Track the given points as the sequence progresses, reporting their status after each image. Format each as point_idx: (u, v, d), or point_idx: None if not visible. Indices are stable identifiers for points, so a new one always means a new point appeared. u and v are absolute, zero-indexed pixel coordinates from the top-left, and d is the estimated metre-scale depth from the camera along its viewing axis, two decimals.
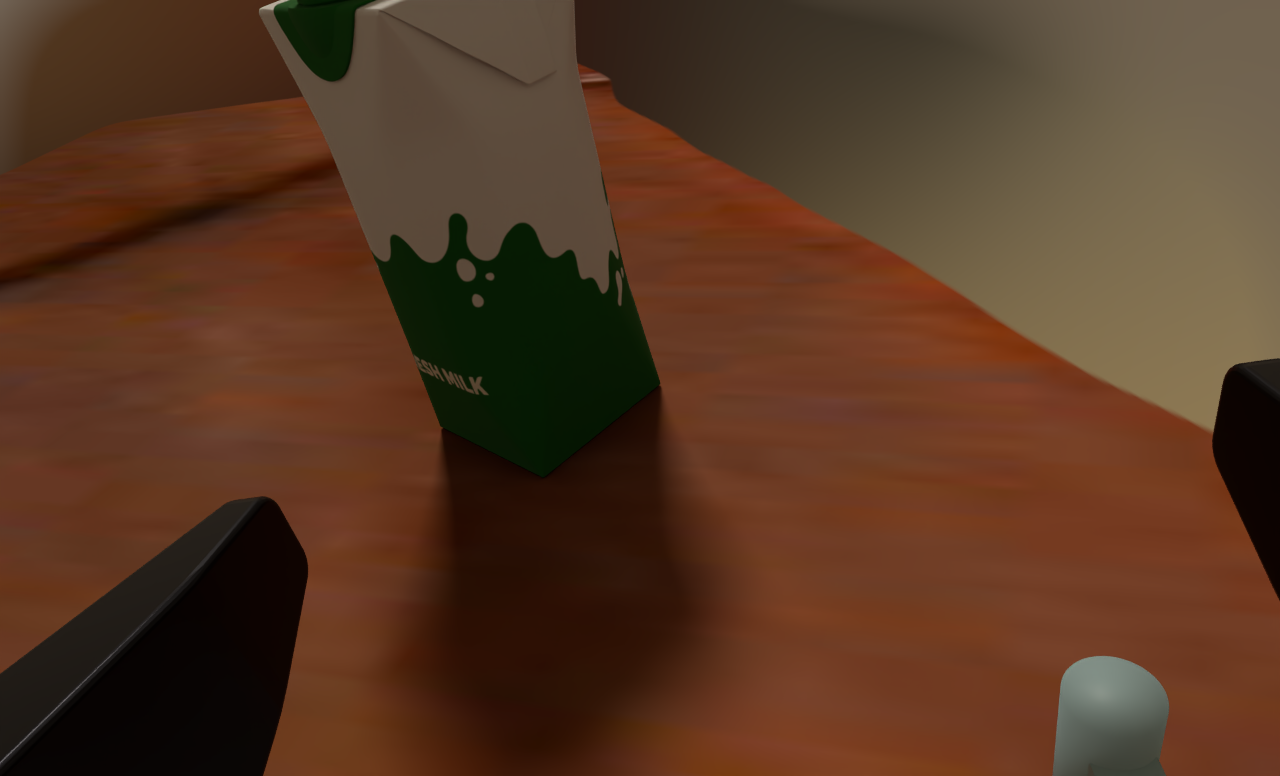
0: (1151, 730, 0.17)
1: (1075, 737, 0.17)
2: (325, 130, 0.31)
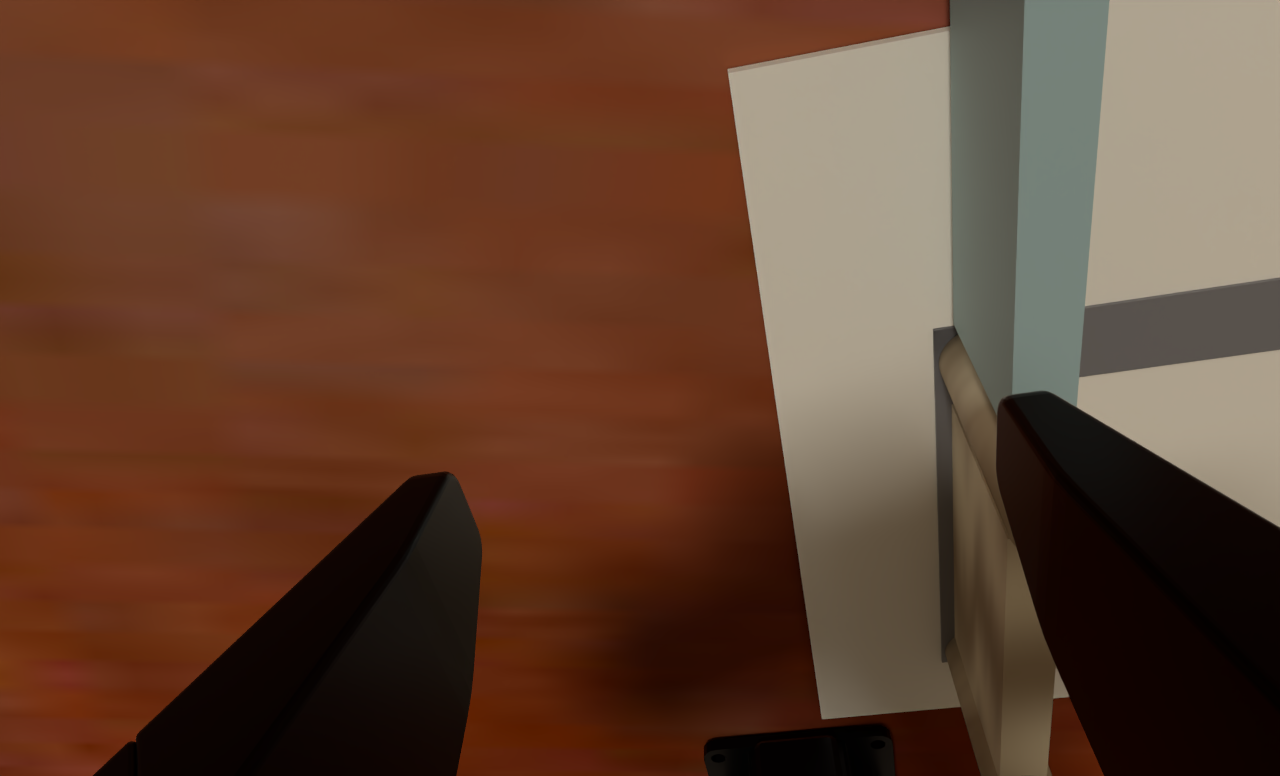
0: None
1: None
2: None
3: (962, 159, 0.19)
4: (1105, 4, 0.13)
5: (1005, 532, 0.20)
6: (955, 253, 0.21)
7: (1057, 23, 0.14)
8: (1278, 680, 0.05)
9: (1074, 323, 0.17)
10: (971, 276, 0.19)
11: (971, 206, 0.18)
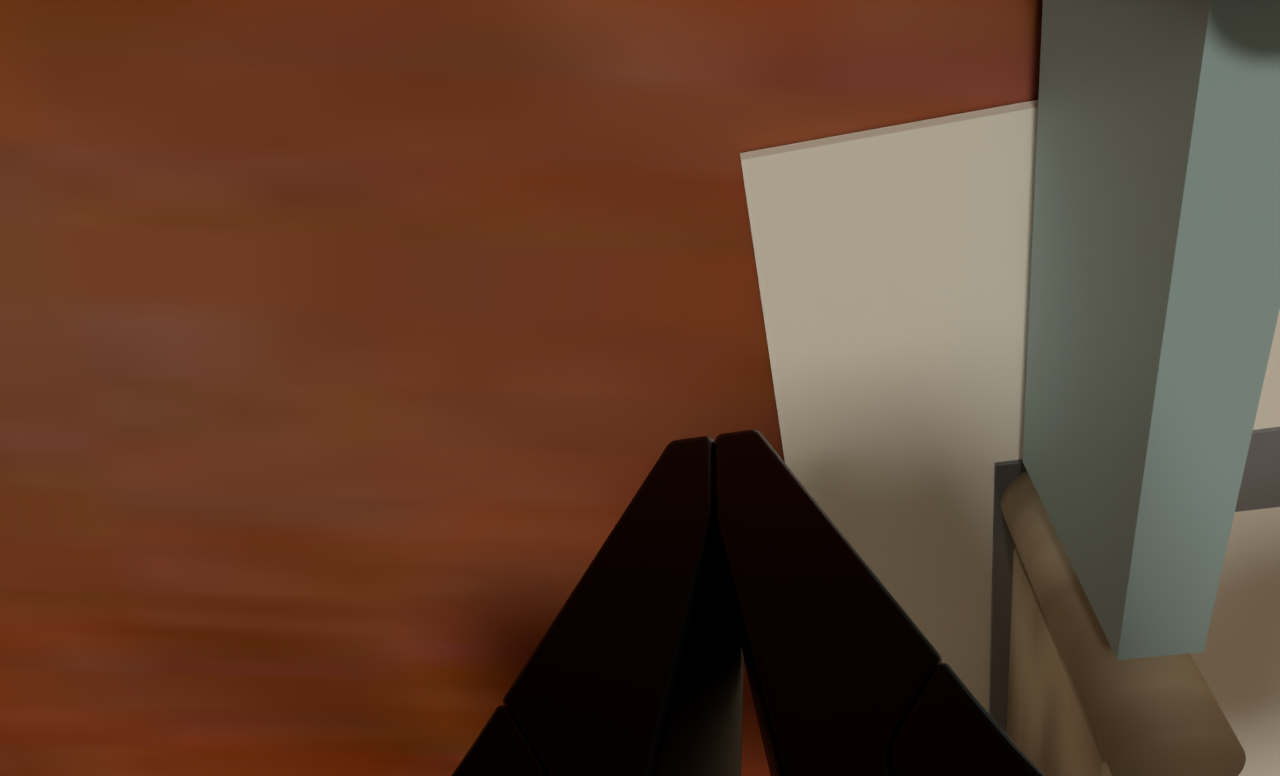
0: None
1: None
2: None
3: (1050, 277, 0.14)
4: None
5: (1099, 751, 0.15)
6: (1030, 382, 0.16)
7: (1241, 141, 0.09)
8: (785, 724, 0.05)
9: (1219, 524, 0.12)
10: (1057, 423, 0.15)
11: (1063, 340, 0.14)
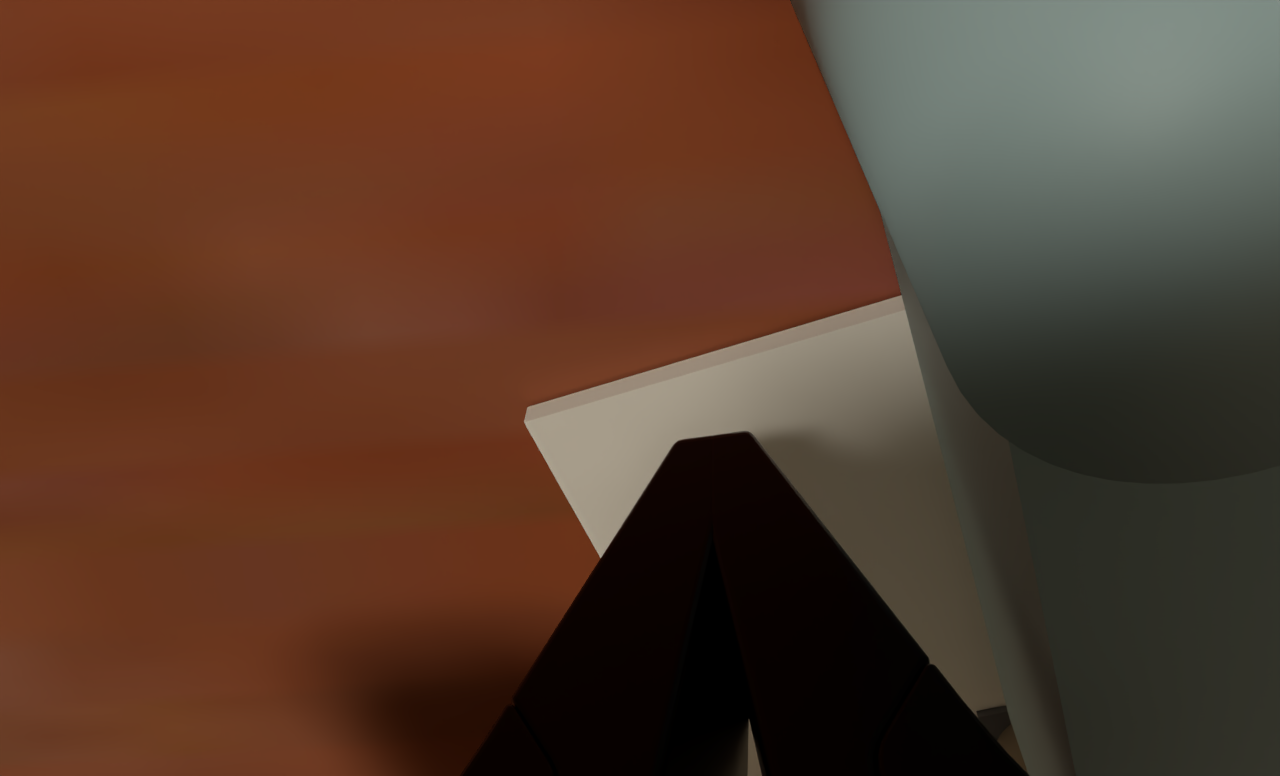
0: None
1: None
2: None
3: (971, 544, 0.10)
4: (1273, 519, 0.05)
5: None
6: (991, 639, 0.12)
7: (1134, 569, 0.05)
8: (773, 726, 0.05)
9: None
10: (1022, 730, 0.10)
11: (1000, 639, 0.10)
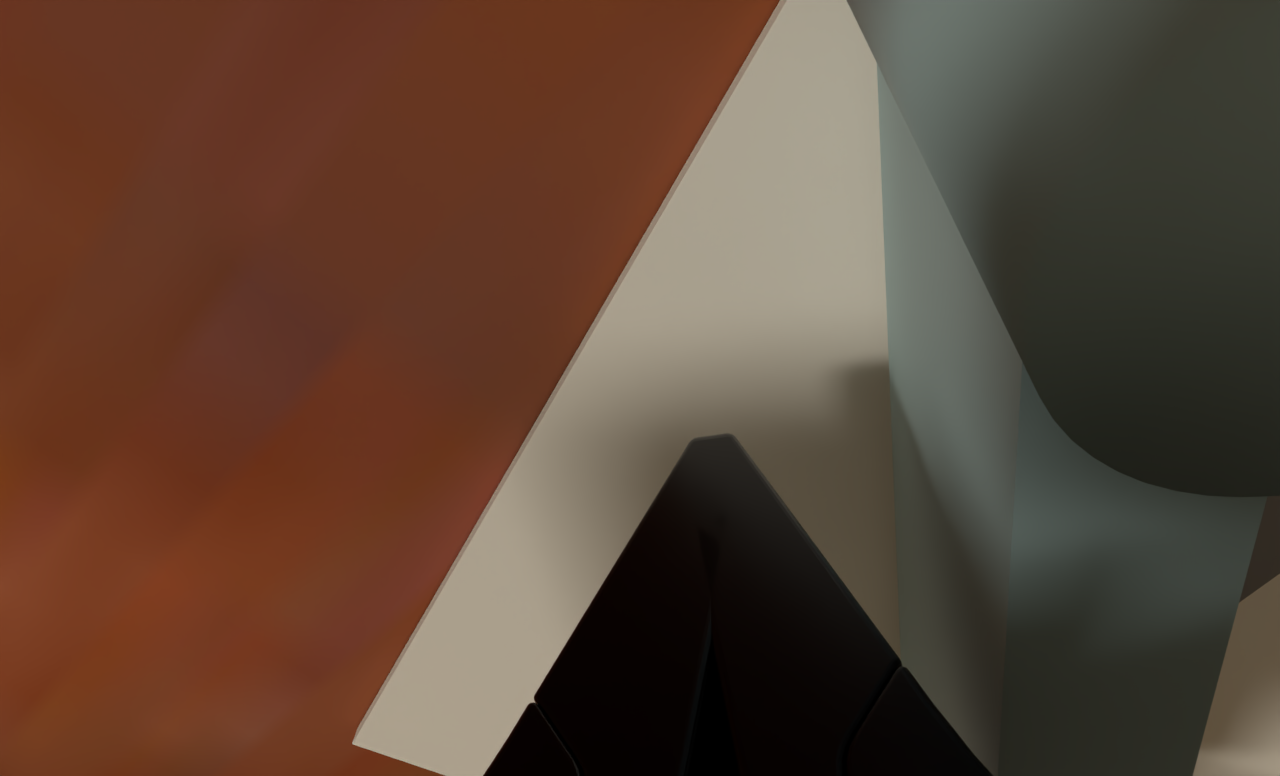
0: None
1: None
2: None
3: (907, 550, 0.10)
4: (1239, 555, 0.05)
5: None
6: (903, 647, 0.12)
7: (1101, 584, 0.05)
8: (744, 728, 0.05)
9: None
10: None
11: (920, 646, 0.10)
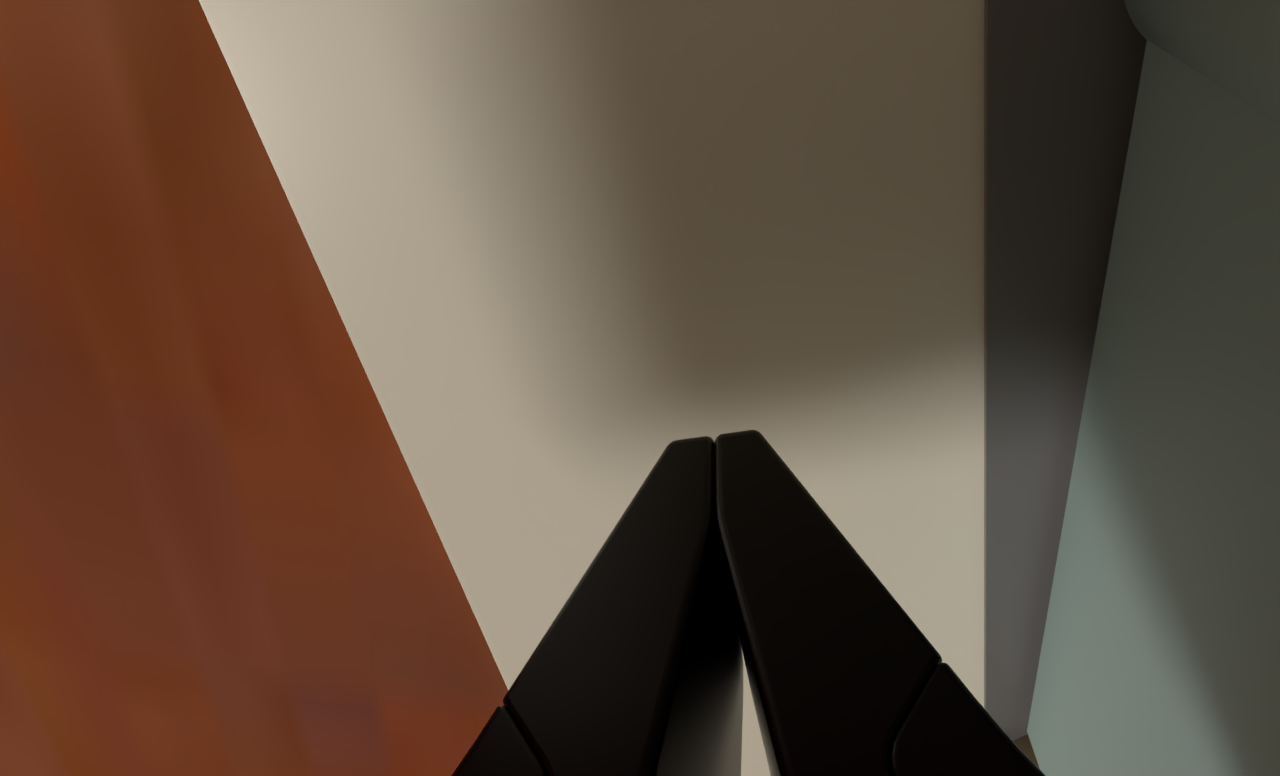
0: None
1: None
2: None
3: (1095, 554, 0.10)
4: None
5: None
6: (1048, 652, 0.12)
7: None
8: (785, 724, 0.05)
9: None
10: (1088, 740, 0.11)
11: (1108, 648, 0.10)
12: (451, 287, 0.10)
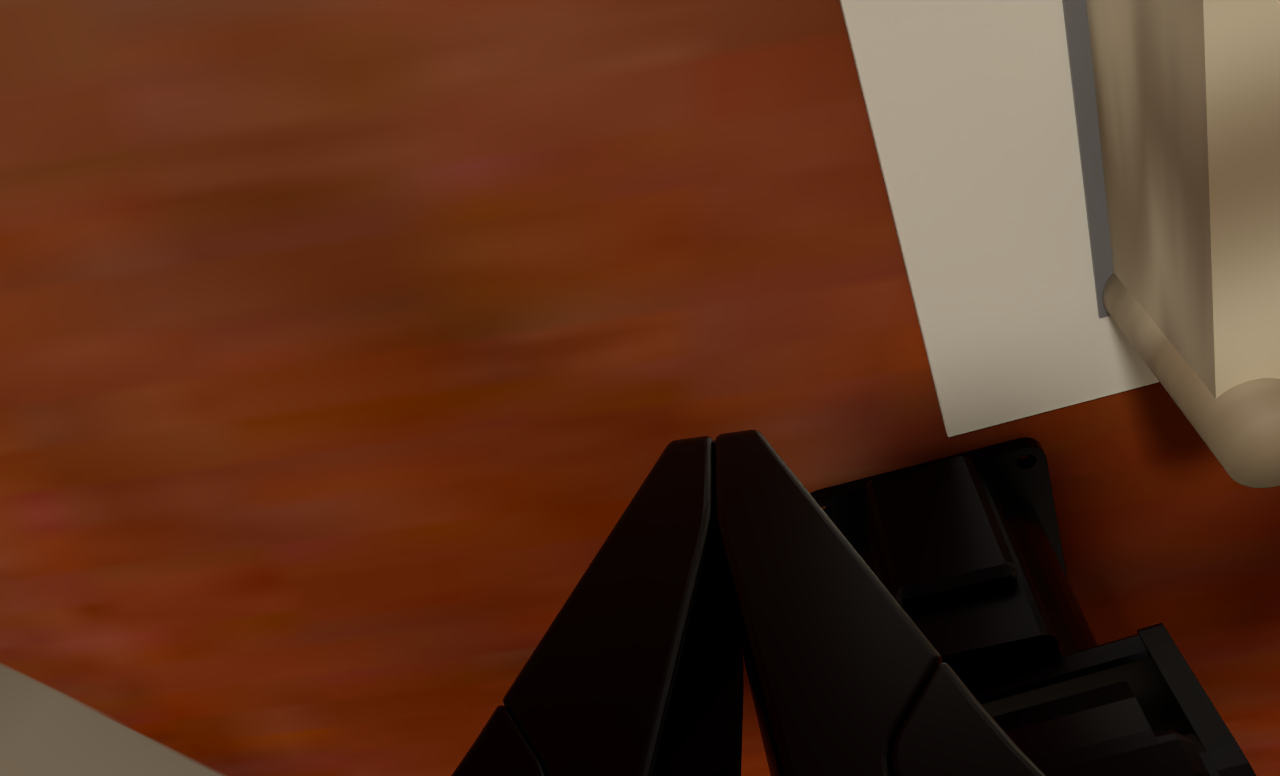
0: None
1: None
2: None
3: None
4: None
5: None
6: None
7: None
8: (785, 725, 0.05)
9: None
10: None
11: None
12: None
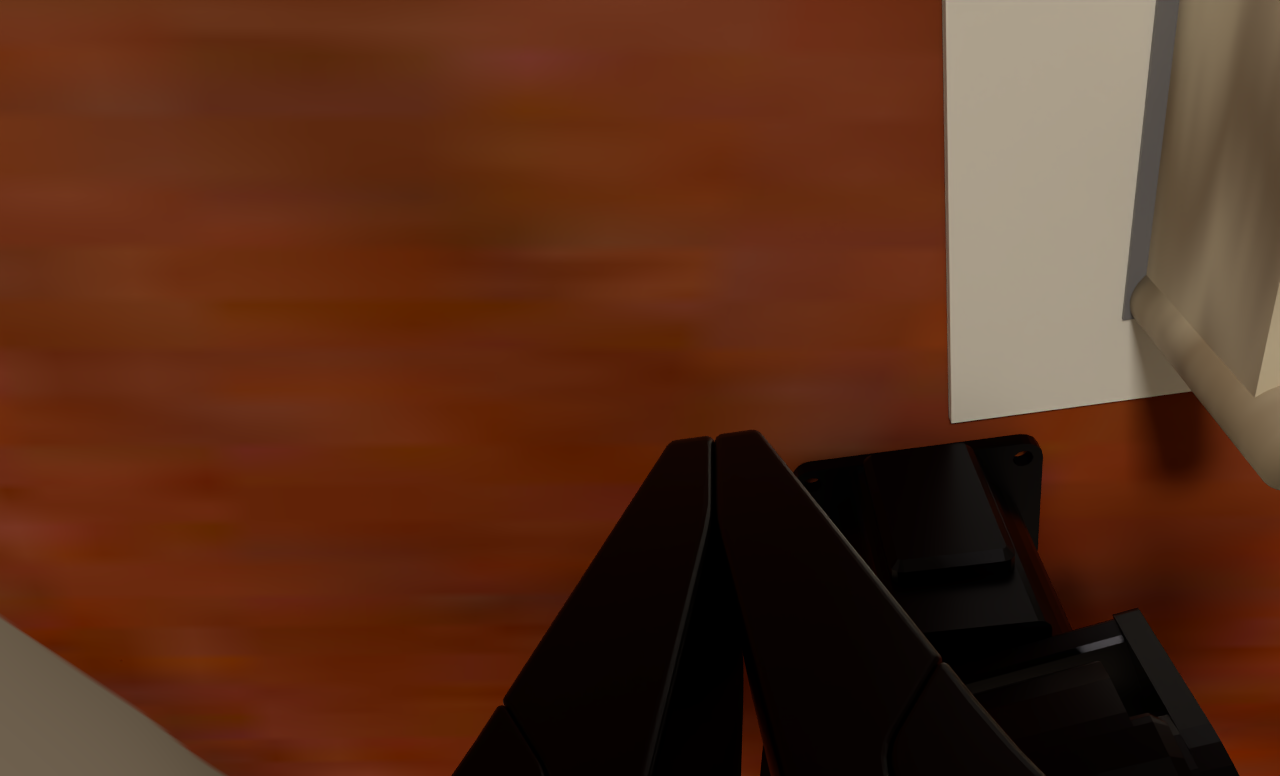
0: None
1: None
2: None
3: None
4: None
5: None
6: None
7: None
8: (785, 725, 0.05)
9: None
10: None
11: None
12: None
